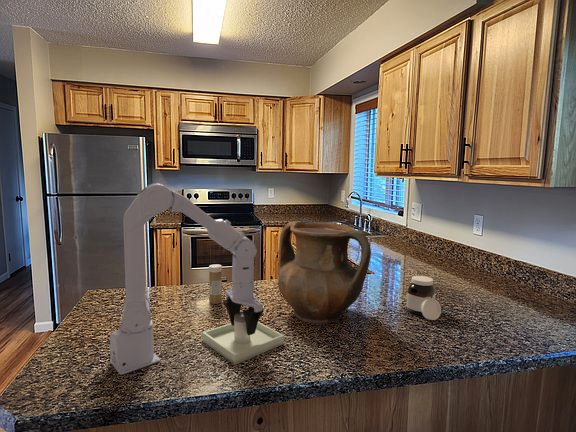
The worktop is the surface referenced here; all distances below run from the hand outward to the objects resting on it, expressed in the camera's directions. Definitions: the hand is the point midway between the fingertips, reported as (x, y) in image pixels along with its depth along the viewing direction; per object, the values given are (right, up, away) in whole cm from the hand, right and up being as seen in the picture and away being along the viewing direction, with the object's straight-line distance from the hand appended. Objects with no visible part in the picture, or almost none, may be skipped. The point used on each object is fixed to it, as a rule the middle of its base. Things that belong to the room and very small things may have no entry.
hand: (242, 329), depth 98 cm
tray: (0, -4, 0) cm, 4 cm away
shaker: (0, -3, 0) cm, 3 cm away
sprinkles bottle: (-14, 0, +30) cm, 33 cm away
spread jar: (+58, -2, +22) cm, 63 cm away
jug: (+23, -2, +21) cm, 31 cm away
